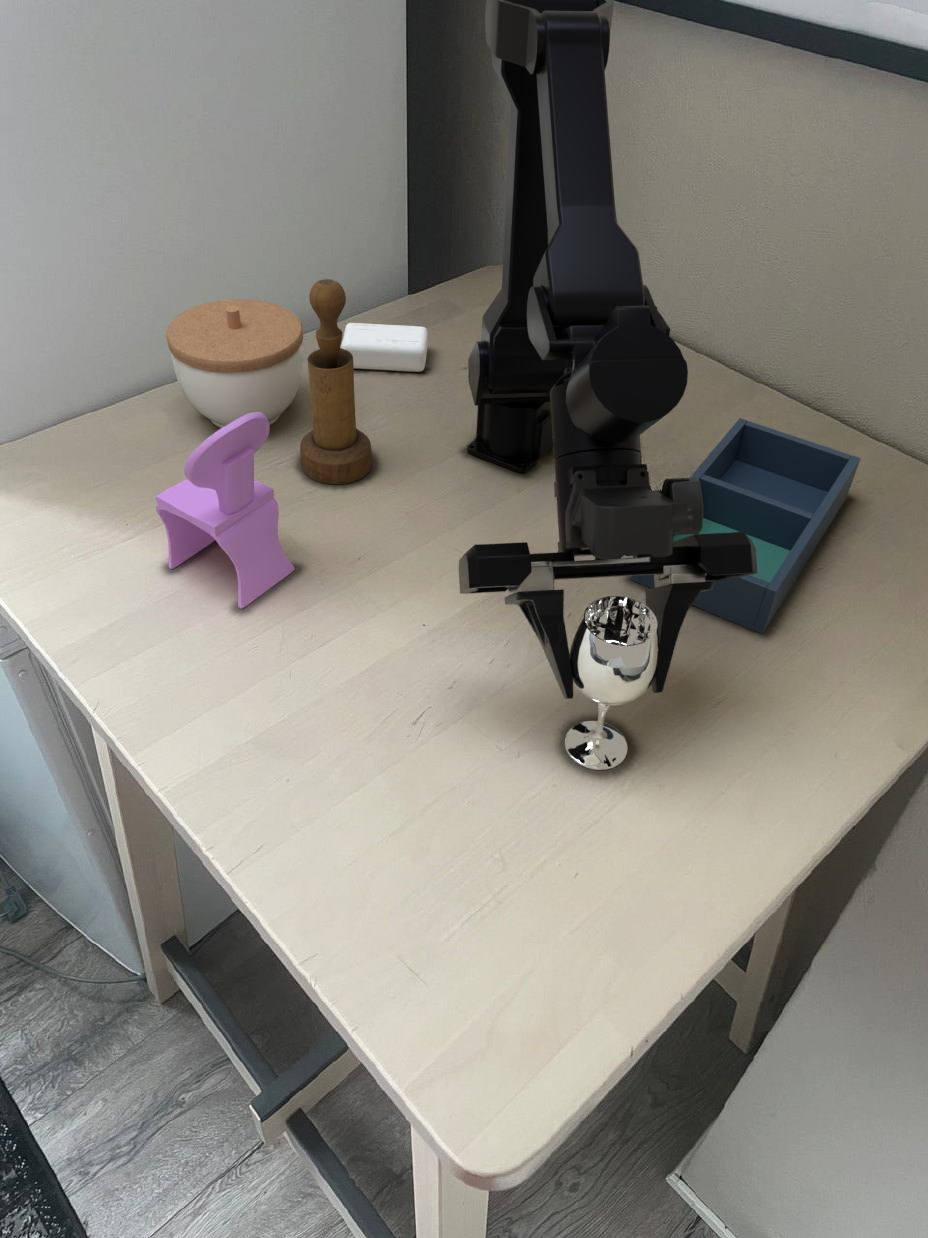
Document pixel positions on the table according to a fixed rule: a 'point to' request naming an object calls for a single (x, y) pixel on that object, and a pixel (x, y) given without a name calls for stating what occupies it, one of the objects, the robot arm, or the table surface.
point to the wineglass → (610, 673)
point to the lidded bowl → (237, 358)
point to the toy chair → (228, 508)
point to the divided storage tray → (767, 513)
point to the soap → (386, 346)
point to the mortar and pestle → (332, 399)
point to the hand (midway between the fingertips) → (613, 695)
